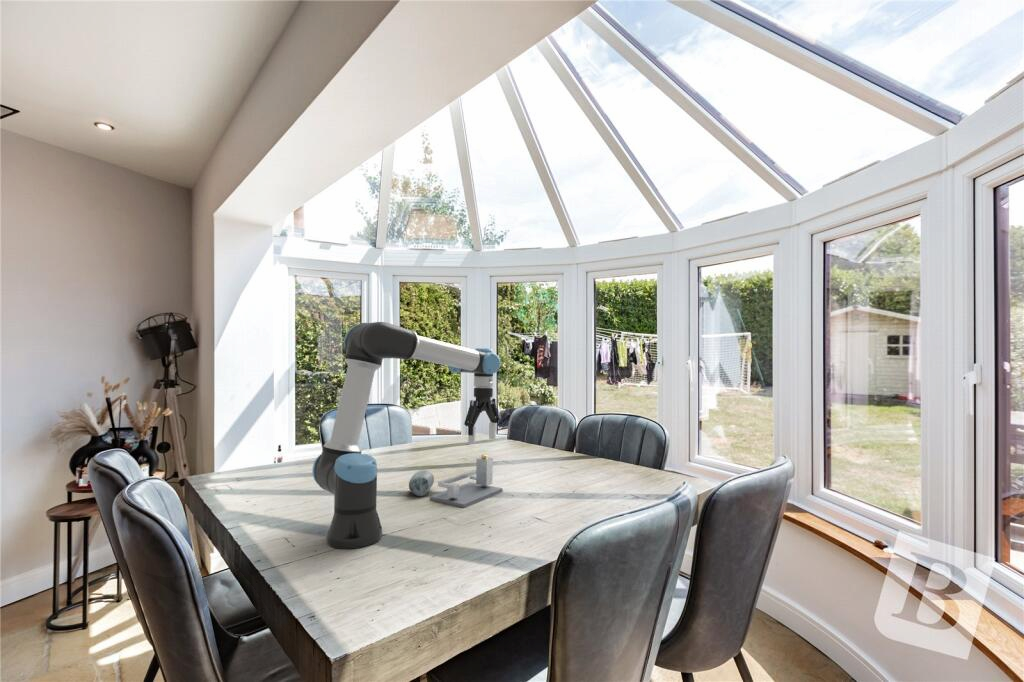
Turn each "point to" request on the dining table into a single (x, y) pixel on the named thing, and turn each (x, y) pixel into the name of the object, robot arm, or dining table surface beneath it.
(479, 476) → the post
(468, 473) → the dividers frame
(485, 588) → the dining table surface
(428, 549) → the dining table surface
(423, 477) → the grey rounded oval lump
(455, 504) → the flange plate
